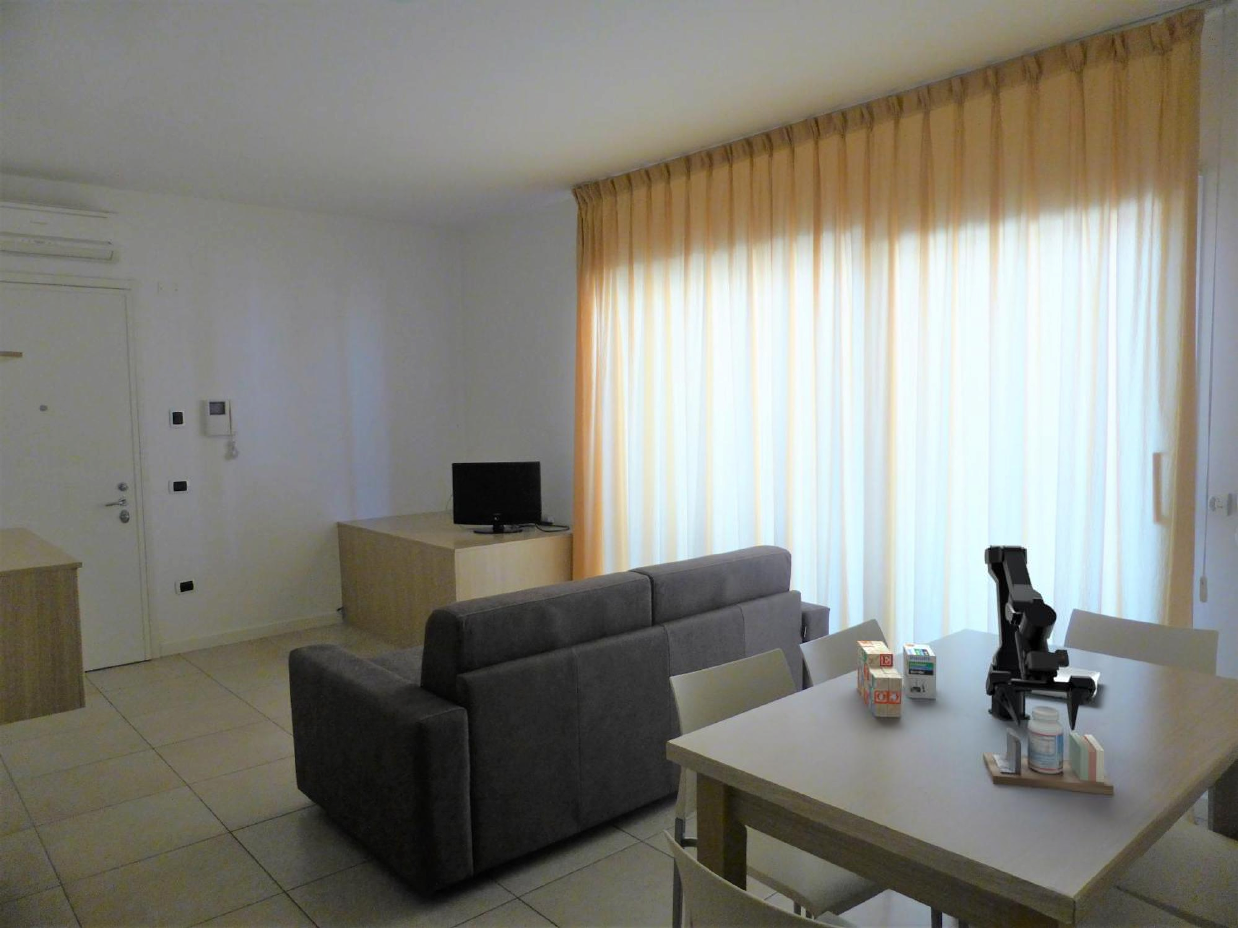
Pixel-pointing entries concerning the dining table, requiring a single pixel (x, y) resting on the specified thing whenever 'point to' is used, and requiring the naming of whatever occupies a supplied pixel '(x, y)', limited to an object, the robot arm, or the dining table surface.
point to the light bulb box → (919, 671)
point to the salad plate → (1064, 677)
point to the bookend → (1010, 755)
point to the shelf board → (1045, 778)
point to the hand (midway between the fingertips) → (1046, 727)
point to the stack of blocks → (878, 679)
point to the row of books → (1086, 757)
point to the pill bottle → (1045, 741)
